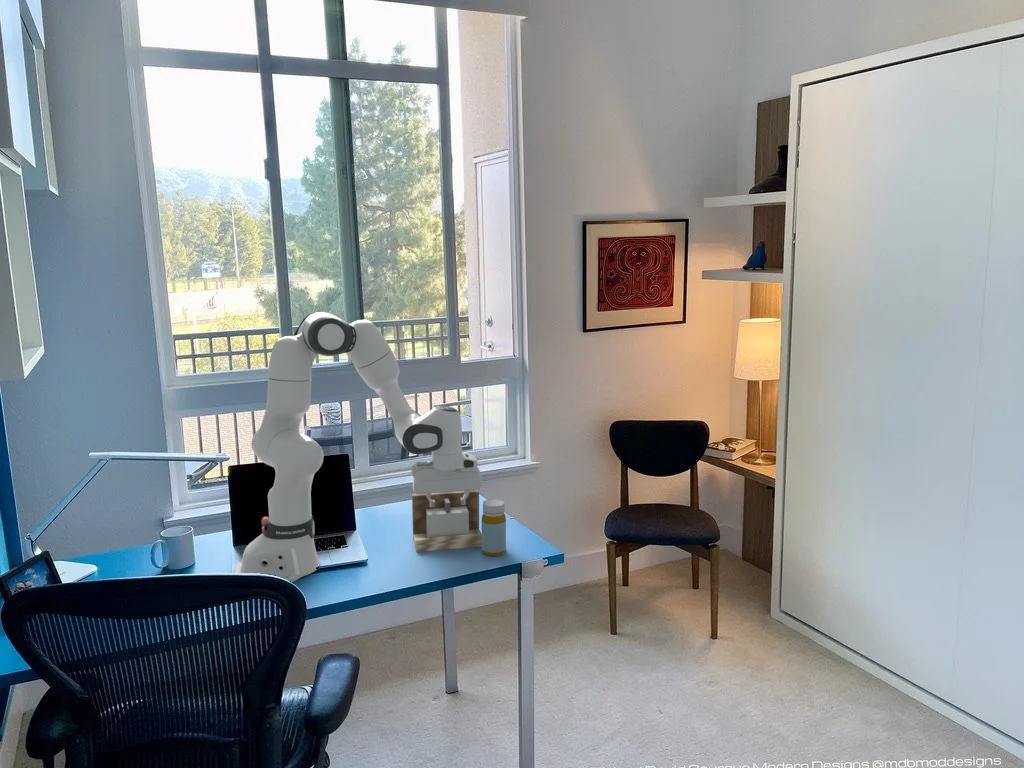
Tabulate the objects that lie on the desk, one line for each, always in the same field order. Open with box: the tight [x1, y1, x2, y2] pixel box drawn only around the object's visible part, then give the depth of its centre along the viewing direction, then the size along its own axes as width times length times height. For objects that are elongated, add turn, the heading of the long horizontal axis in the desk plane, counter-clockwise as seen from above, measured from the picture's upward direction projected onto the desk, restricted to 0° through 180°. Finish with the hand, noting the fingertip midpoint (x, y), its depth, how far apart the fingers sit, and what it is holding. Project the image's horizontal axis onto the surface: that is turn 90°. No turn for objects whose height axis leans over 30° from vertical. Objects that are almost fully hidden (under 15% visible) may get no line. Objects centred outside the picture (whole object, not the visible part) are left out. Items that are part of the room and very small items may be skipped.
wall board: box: [411, 490, 482, 553], centre depth 225 cm, size 20×10×14 cm, turn 102°
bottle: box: [481, 498, 507, 557], centre depth 218 cm, size 7×7×15 cm
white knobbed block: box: [426, 499, 469, 538], centre depth 224 cm, size 12×5×11 cm, turn 102°
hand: (447, 505), depth 224 cm, fingers open, 8 cm apart
